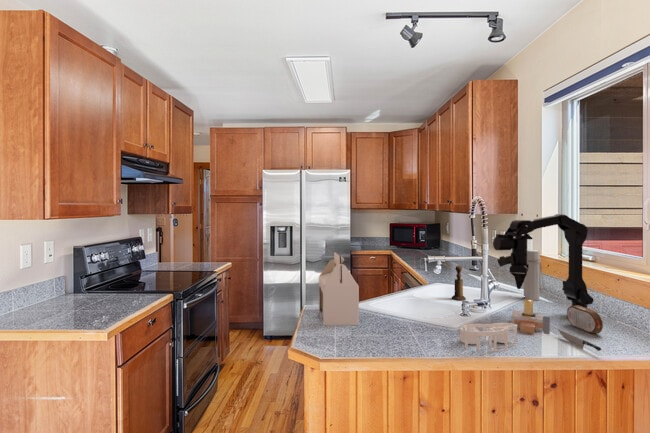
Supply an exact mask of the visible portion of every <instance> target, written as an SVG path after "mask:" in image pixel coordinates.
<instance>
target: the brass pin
mask: <svg viewBox="0 0 650 433" xmlns="http://www.w3.org/2000/svg"><path fill="white" fill-rule="evenodd" d="M523 311H524V316H530V317H533V313H534V301H533V300H529V299H524V298H523Z"/></svg>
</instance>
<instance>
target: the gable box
mask: <svg viewBox="0 0 650 433" xmlns="http://www.w3.org/2000/svg"><path fill="white" fill-rule="evenodd" d="M333 255H334V256H333V257H332V258H331V259H330V260H329V261H328V263H326V265H325V267H324V268H323V270H322V272H321V273H320V275H319V276H318V311H319V314H320V317H321V321H322V323H323V326H359V325H360V324H359V322H360V321H359V320H360V312H359V311H360V306H359V305H360V302H359V301H360V298H359V297H360V294H359V293H360V292H359V291H360V289H359V288H360V286H359V284H358V283H357V281H356V279H355V278H354V277H353V275H352V274H351V272H350V270H349V269H348V267H347V266H346V265H345V264H344V263H345V260H346V259H345V258H344V257H343V256H342V255H340V254H339V253H338V252H336V251H335V252H334V253H333ZM321 310H322V312H321Z"/></svg>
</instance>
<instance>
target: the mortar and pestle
mask: <svg viewBox="0 0 650 433" xmlns="http://www.w3.org/2000/svg"><path fill="white" fill-rule="evenodd" d="M462 270H463V267H462V266H461V265H456V266H455V271H456V273H457V274H456V275H455V276H456V278H455V279H454V294H453V296H451V300H454V301H459V302H462V301H463V302H465V301H467V298H466V297H465V296H464V280H463V279H462V274H461V272H462Z"/></svg>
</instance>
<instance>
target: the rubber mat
mask: <svg viewBox="0 0 650 433" xmlns="http://www.w3.org/2000/svg"><path fill="white" fill-rule="evenodd" d="M550 320H551V319H550V316H544V315H543V334H546V335H550V334H551V330H550V327H551V326H550V324H551V321H550Z"/></svg>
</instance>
